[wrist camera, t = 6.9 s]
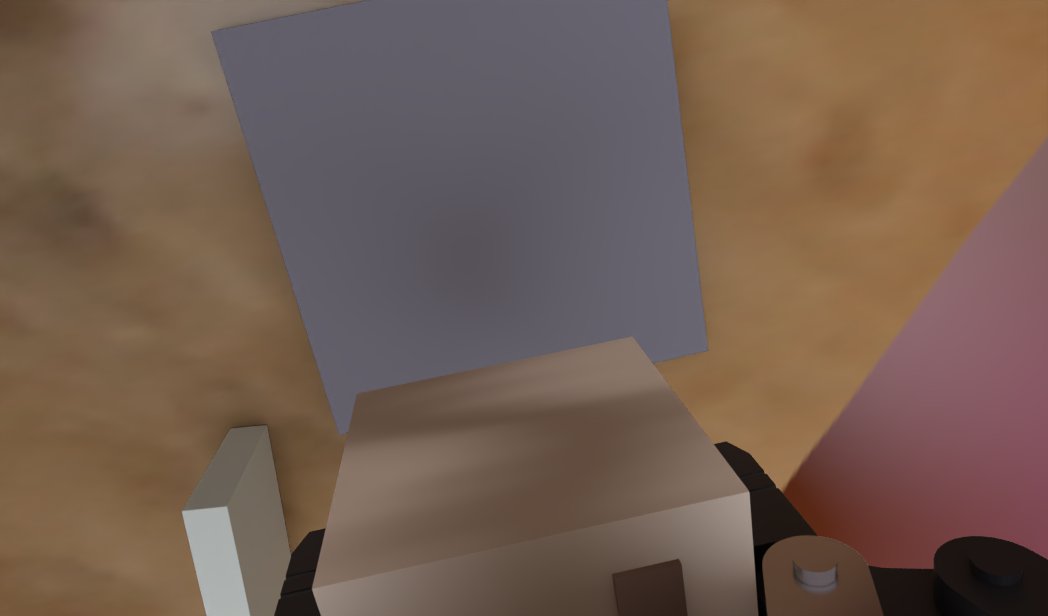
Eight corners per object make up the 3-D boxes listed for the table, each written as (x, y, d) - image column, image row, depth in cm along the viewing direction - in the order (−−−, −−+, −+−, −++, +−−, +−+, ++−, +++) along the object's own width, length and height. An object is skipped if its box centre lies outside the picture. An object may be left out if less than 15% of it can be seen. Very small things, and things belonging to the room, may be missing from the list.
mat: (341, 425, 30) (339, 434, 30) (217, 32, 25) (210, 31, 24) (701, 344, 31) (708, 350, 30) (653, -55, 26) (660, -59, 25)
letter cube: (418, 616, 14) (411, 896, 9) (356, 393, 12) (309, 595, 8) (661, 561, 14) (774, 805, 10) (632, 336, 13) (752, 496, 8)
